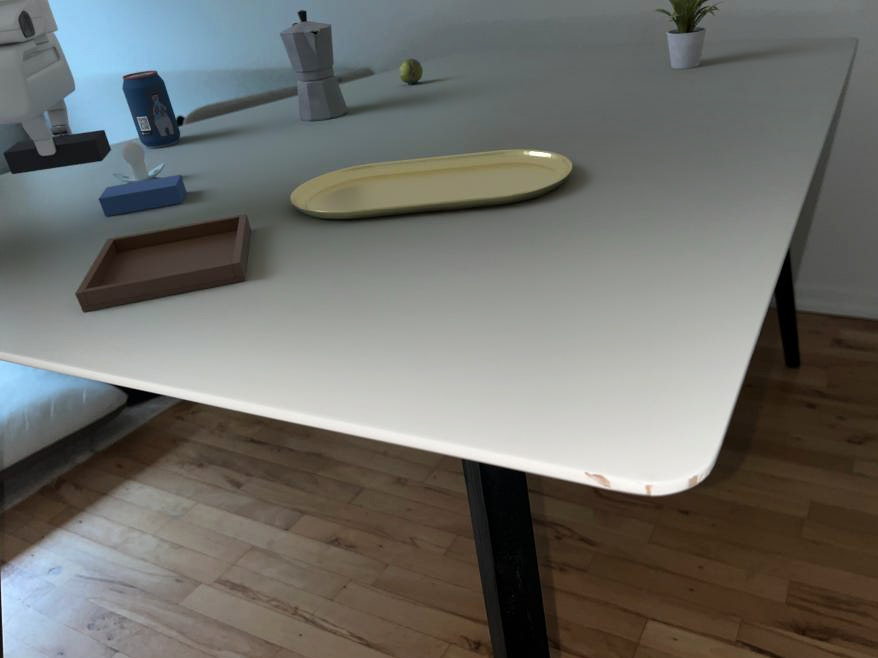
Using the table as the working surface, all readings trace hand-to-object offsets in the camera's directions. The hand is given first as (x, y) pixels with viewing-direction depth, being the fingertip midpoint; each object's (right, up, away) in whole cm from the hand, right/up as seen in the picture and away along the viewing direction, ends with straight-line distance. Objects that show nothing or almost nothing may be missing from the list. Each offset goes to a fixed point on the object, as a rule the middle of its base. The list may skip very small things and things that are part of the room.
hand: (57, 147), depth 87 cm
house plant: (+89, +30, +52) cm, 107 cm away
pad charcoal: (0, -2, +1) cm, 2 cm away
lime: (+36, +33, +69) cm, 84 cm away
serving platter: (+44, -4, +5) cm, 45 cm away
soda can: (-7, +14, +46) cm, 48 cm away
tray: (+17, -15, -8) cm, 24 cm away
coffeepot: (+20, +21, +52) cm, 60 cm away
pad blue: (+4, -4, +14) cm, 15 cm away
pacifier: (0, 0, +22) cm, 22 cm away
